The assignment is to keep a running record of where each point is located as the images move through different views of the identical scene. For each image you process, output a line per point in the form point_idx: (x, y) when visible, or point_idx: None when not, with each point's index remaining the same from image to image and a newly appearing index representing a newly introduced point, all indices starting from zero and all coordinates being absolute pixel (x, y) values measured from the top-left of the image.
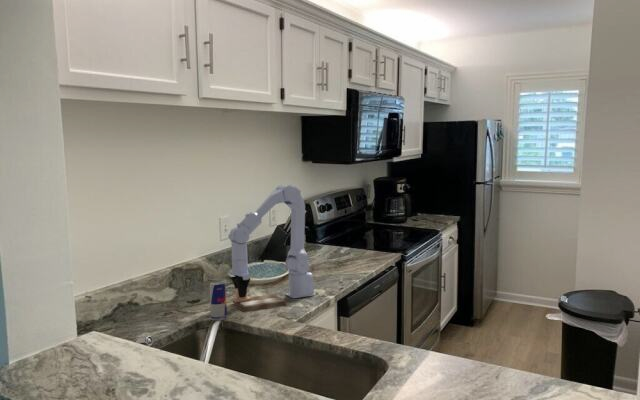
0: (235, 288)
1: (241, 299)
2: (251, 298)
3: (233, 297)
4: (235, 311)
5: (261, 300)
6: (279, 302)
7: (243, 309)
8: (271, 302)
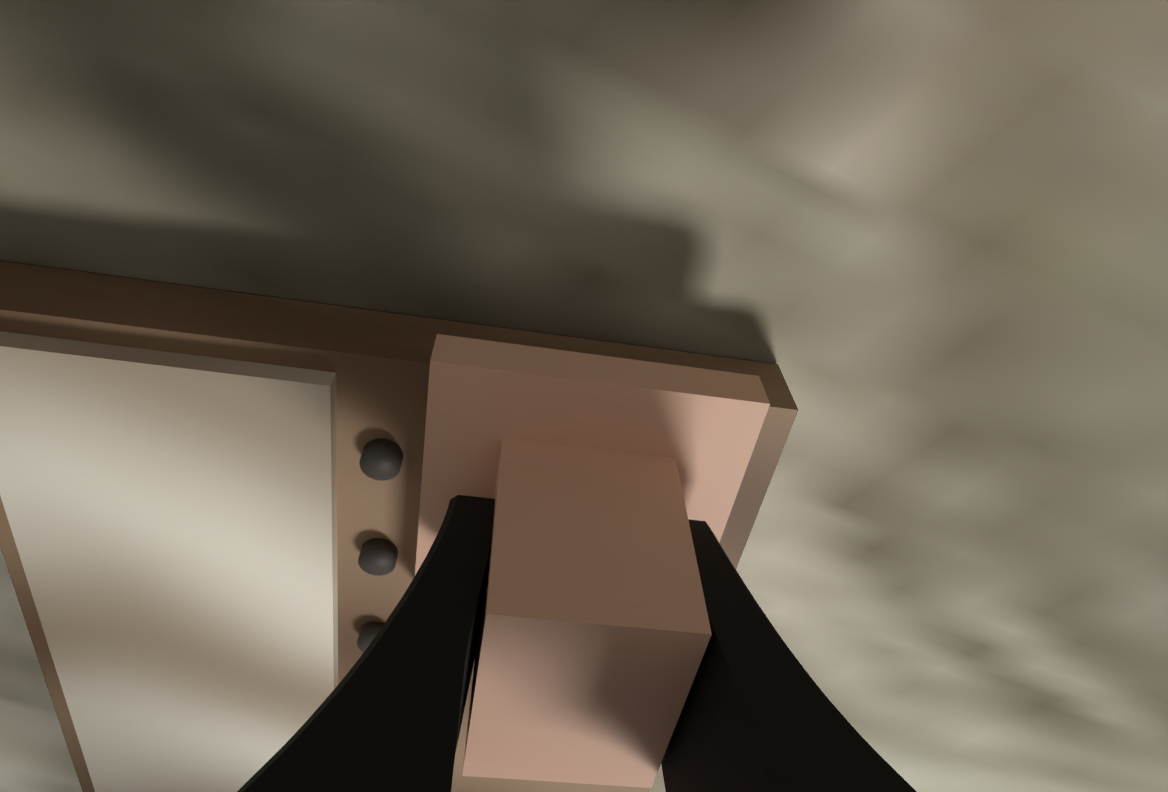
0: (699, 631)
1: (422, 476)
2: None
3: (734, 432)
4: (92, 128)
5: (269, 681)
6: (81, 779)
7: (6, 280)
8: (81, 722)
